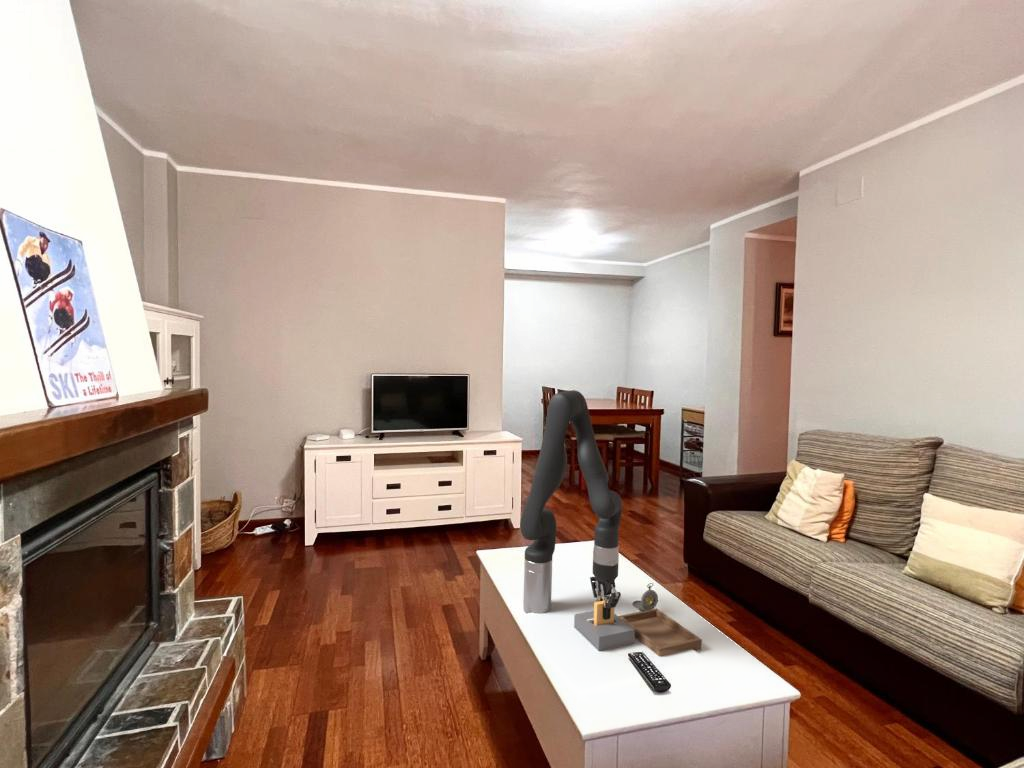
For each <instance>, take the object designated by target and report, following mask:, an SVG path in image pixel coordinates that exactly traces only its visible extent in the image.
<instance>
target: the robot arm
mask: <svg viewBox="0 0 1024 768" xmlns="http://www.w3.org/2000/svg"><path fill="white" fill-rule="evenodd" d="M546 411H547V412H546V419H545V427H544V431H543V433H544V434H543V437H542V442H541V447H540V450H539V454H538V458H537V461H536V466H535V470H534V475H533V479H532V483H531V487H530V490H529V494H528V498H527V500H526V502H525V506H524V508H523V511H522V514H521V517H520V523H519V526H520V527H519V528H520V533H521V536H522V537H523V538H524V539H525V540H527V541H533V542H532V543H530V545H528V546H527V547H526V548H525V550H524V566H523V567H524V571H523V572H524V573H523V597H522V598H523V600H522V601H523V605H522V606H523V607H522V609H523V611H524V613H526V614H545V613H548V612H549V611H551V610H552V592H553V590H552V589H553V587H552V586H553V585H552V583H553V555H554V553H555V549H556V539H557V538H556V537H557V519H556V517H555V514H554V512H553V511H552V510H551V509H550V508H549V509H548V508H545V506H546V504H547V502H548V501H549V500H550V498H551V497H552V496H553V495H554V494H555V492H556V491H557V490H558V488H559V487H560V486H561V484H562V482H563V480H564V477H565V473H566V469H567V465H568V455H567V450H566V445H565V438H566V434H567V431H568V428H569V424H570V423H571V425H572V427H573V428H574V432H575V435H576V436H575V437H576V446H577V447H576V449H577V461H578V465H579V467H580V471H581V473H582V476H583V478H584V480H585V483H586V487H587V493H588V499H589V503H590V506H591V509H592V511H593V513H594V514H595V515H596V517H598V522H597V524H596V526H595V527H594V541H593V542H594V543H593V550H592V575H593V576H590V577H589V580H590V585H591V590H592V594H593V598H595V599H596V602H599V601H603V606H604V607H603V619H604V620H607V619H610V617H611V608H613V607H614V608H616V607H617V605H618V602H619V601H620V599H621V596H622V594H621V592H620V591H617V589H616V583H615V580H616V579H617V578H618V577H619V561H620V560H619V558H620V556H619V555H620V553H619V530H620V529H619V527H620V524H621V520H622V512H623V501H622V498H621V496H620V494H618V492H616V491H614V490H610V487H609V486H608V484H609V483H608V482H609V480H610V478H609V473H608V471H607V468H606V466H605V463H604V461H603V459H602V455H601V454H600V453H601V452H600V450H599V448H598V447H599V446H598V443H597V441H596V436H595V433H594V429H593V424H592V420H591V415H590V412H589V411H590V410H589V406H588V403H587V400H586V398H585V396H584V395H583V394H582V393H581V392H580V391H578V390H574V389H572V390H571V389H570V390H565V391H561V392H560V391H559V392H557V393H555V394H553V395H552V397H550V400H549V403H548V405H547V410H546ZM607 600H609V601H608V603H607Z"/></svg>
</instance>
